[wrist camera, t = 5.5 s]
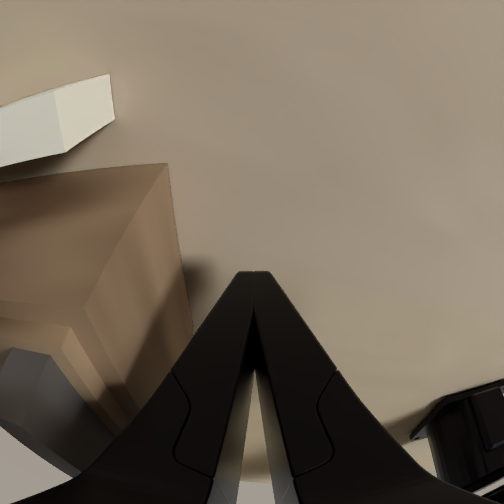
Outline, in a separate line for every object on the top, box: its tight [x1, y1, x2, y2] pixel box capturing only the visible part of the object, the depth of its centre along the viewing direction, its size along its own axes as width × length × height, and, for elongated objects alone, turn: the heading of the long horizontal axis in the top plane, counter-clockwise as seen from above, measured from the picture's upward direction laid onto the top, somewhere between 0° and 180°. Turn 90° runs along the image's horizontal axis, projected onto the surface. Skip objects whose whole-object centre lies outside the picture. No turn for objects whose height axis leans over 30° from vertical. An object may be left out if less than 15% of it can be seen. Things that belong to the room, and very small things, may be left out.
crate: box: [0, 163, 193, 478], centre depth 7 cm, size 9×6×7 cm, turn 90°
